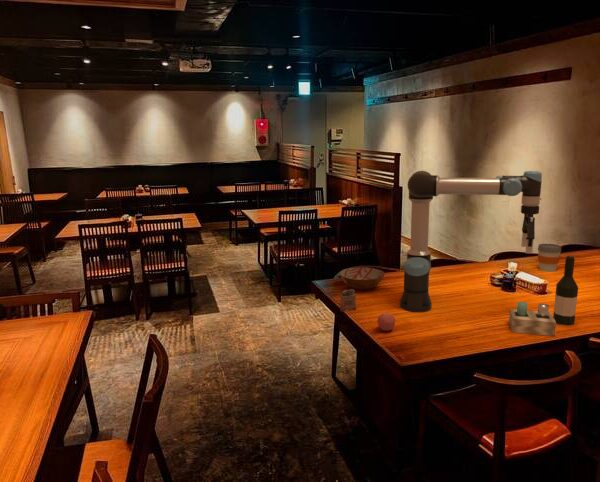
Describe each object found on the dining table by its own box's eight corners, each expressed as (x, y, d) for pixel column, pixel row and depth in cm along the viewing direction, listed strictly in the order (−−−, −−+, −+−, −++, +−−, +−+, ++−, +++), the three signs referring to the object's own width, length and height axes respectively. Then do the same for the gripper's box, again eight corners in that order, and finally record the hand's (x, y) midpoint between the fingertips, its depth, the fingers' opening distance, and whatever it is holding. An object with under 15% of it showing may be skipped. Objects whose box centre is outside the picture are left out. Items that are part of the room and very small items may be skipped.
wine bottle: (555, 316, 210) (561, 252, 204) (576, 321, 205) (583, 255, 199) (550, 322, 204) (557, 256, 198) (572, 327, 199) (579, 259, 193)
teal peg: (517, 317, 197) (518, 304, 196) (515, 314, 201) (516, 301, 200) (527, 318, 196) (528, 305, 195) (525, 315, 200) (527, 302, 199)
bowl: (393, 290, 253) (393, 276, 251) (352, 296, 244) (352, 282, 242) (369, 278, 276) (370, 265, 274) (331, 283, 267) (331, 270, 265)
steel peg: (537, 319, 195) (539, 306, 194) (536, 315, 199) (537, 302, 197) (548, 320, 194) (549, 307, 192) (546, 316, 197) (547, 303, 196)
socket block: (512, 332, 195) (513, 318, 194) (508, 321, 206) (509, 308, 205) (554, 336, 190) (556, 322, 189) (548, 325, 202) (550, 312, 200)
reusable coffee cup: (531, 268, 288) (533, 244, 285) (547, 266, 292) (549, 242, 289) (547, 273, 277) (549, 249, 273) (564, 271, 280) (566, 247, 277)
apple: (398, 329, 200) (398, 312, 199) (389, 334, 195) (389, 317, 193) (383, 325, 205) (383, 308, 204) (374, 330, 200) (374, 313, 198)
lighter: (341, 311, 223) (341, 291, 220) (339, 309, 226) (338, 289, 224) (357, 309, 225) (357, 290, 222) (354, 307, 228) (354, 288, 226)
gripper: (544, 209, 201) (540, 256, 206) (534, 201, 225) (531, 244, 229) (525, 208, 204) (521, 255, 208) (517, 201, 227) (514, 243, 231)
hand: (526, 249), depth 219 cm, fingers open, 13 cm apart
